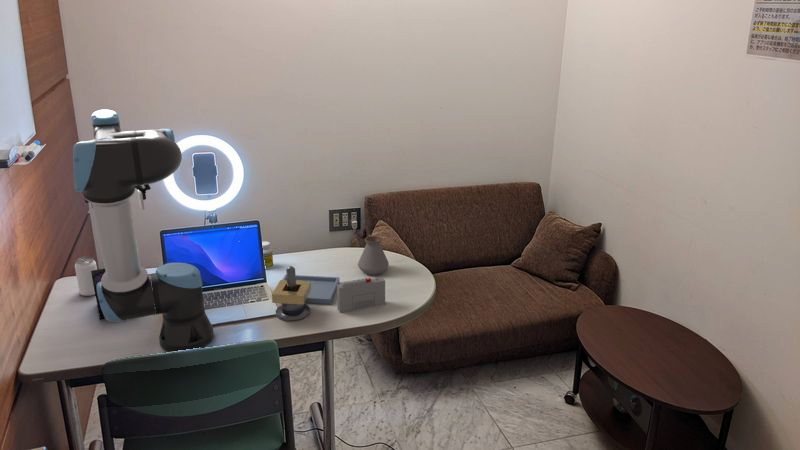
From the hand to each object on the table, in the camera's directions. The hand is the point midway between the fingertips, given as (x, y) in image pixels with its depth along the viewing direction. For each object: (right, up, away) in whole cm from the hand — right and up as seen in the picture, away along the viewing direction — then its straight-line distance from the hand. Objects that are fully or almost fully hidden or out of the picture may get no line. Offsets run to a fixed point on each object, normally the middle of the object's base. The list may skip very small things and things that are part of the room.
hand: (121, 212), depth 201 cm
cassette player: (+81, -32, -4) cm, 87 cm away
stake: (+60, -33, -9) cm, 69 cm away
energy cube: (+3, -31, -7) cm, 32 cm away
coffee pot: (+83, -20, +26) cm, 89 cm away
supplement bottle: (+44, -20, +23) cm, 53 cm away
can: (-12, -27, +2) cm, 30 cm away
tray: (+62, -27, +5) cm, 68 cm away
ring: (+60, -27, -10) cm, 66 cm away
